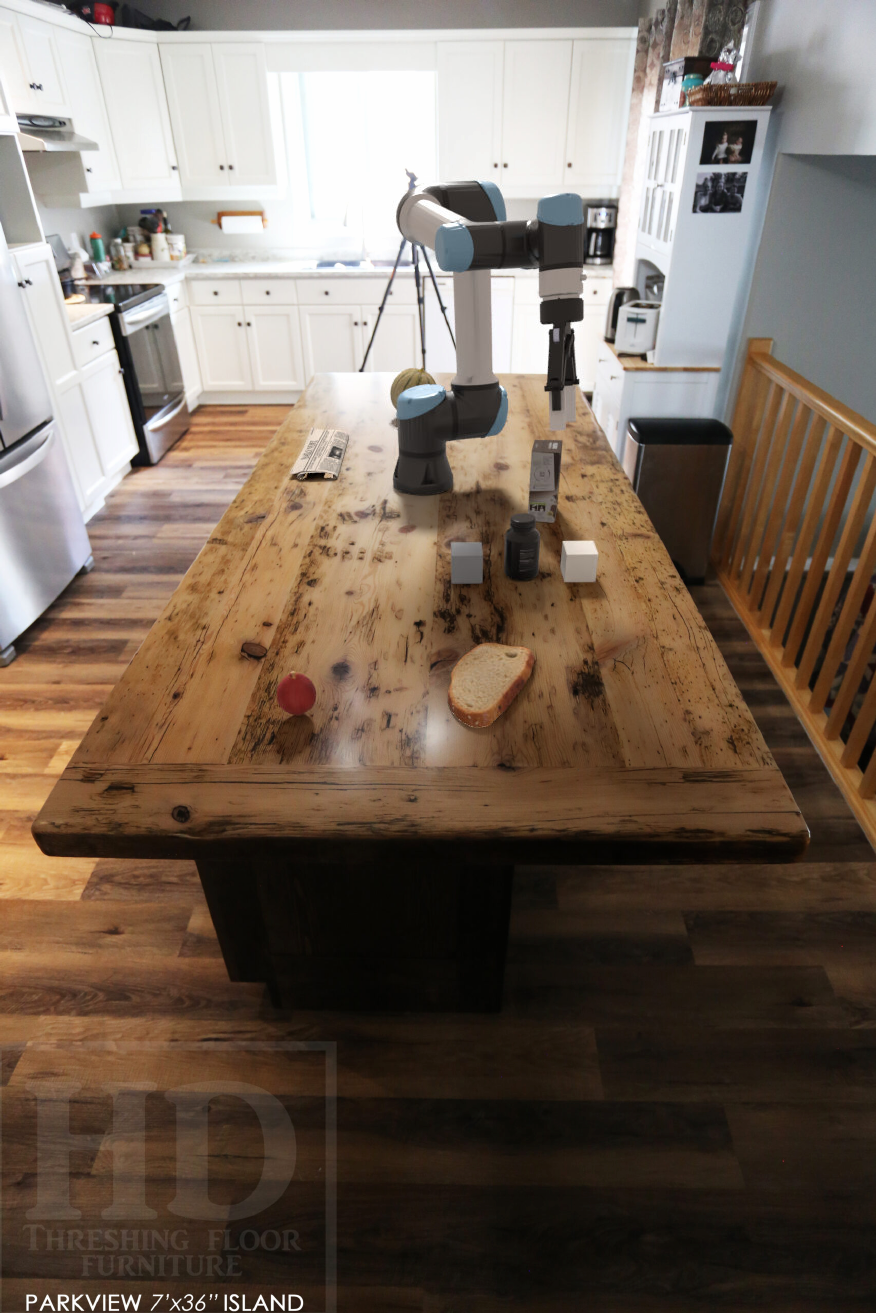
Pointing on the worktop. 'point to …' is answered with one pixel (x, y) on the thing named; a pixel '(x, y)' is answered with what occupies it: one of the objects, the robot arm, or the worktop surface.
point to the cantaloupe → (409, 382)
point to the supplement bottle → (522, 548)
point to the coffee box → (545, 479)
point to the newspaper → (322, 453)
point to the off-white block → (579, 561)
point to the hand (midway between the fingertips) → (563, 426)
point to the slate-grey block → (466, 562)
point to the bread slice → (488, 682)
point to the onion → (296, 694)
